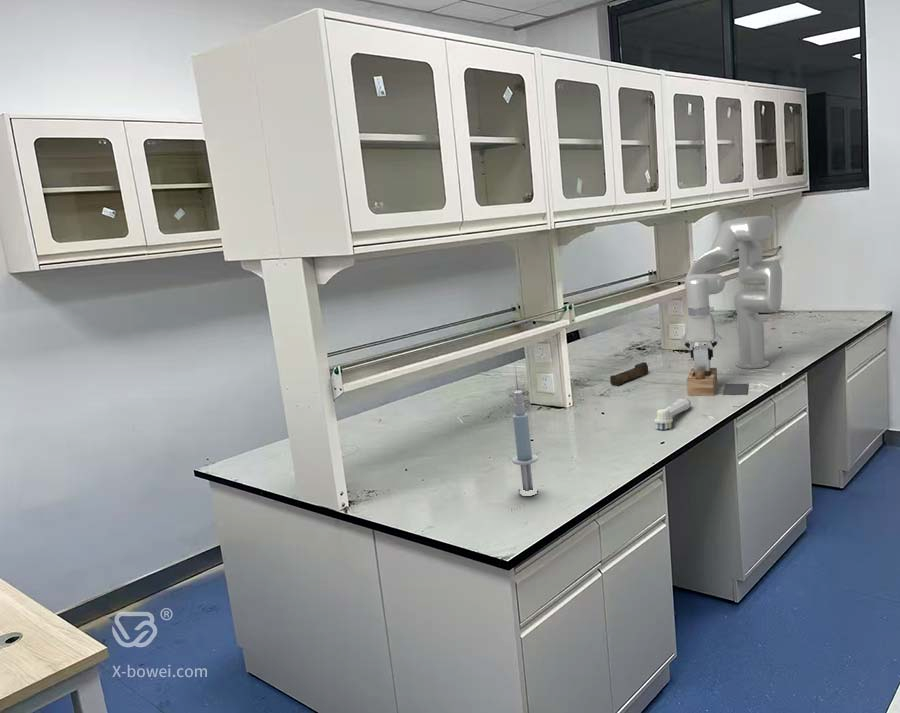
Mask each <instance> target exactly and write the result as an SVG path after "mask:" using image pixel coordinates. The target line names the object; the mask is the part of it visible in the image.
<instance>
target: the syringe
mask: <svg viewBox="0 0 900 713" xmlns="http://www.w3.org/2000/svg"><path fill="white" fill-rule="evenodd" d="M514 368H515V369H514V371H515V372H517V368H516V366H514ZM515 382H516V390H515V391H514V392H513V395H514V397H513V399H514V404H513V406H514V414H513V415H512V418H513V419H512V420H513V427H514V428H513V429H514V439H515V446H516V455H515V456H513V457H512V459H511V461H512V463H513V464H514V465H517V466H520V473H521V483H522V487H523V490H525V491H529V490H533V486H534V485H533V484H534V483H533V475H532V474H533V473H532V466H531V464H534V463H536V462H538V460H539V458H538V456H537V455H536V454H532V445H531V435H530V427H529V426H530V424H529V415H528V413H526V410H525V403H524V396H523V391H521V390H519V384H518V383H519V382H518V377H517V374H515Z"/></svg>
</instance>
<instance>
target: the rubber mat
mask: <svg viewBox="0 0 900 713" xmlns="http://www.w3.org/2000/svg"><path fill="white" fill-rule="evenodd" d="M748 389H749V382H747V383H725V384H724V386H723V391H722V396H736V395H737V396H744V395H745V396H747V395H748Z"/></svg>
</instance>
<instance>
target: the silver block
mask: <svg viewBox="0 0 900 713" xmlns="http://www.w3.org/2000/svg"><path fill="white" fill-rule="evenodd" d="M693 347H694V350H693V354H694V361H693V365H694V367H693V368H695V371H709V370H710V368H711V367H712V366H711V360H709V354H708V349H709V346H708V344H707V345H706V344H705V345H694V346H693Z"/></svg>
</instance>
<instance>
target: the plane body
mask: <svg viewBox="0 0 900 713" xmlns="http://www.w3.org/2000/svg"><path fill="white" fill-rule="evenodd" d="M717 368H718V367H710V370H709V371H695V368H694V367H692V368H691V369H690V371H689V374H688V375H687V376H688V377H687V378H686V392H687V396H688V397H694V396H695V397H702V396H703V397H710V396H711V397H714V396H715V392H716V389H717V386H718V369H717Z"/></svg>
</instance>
